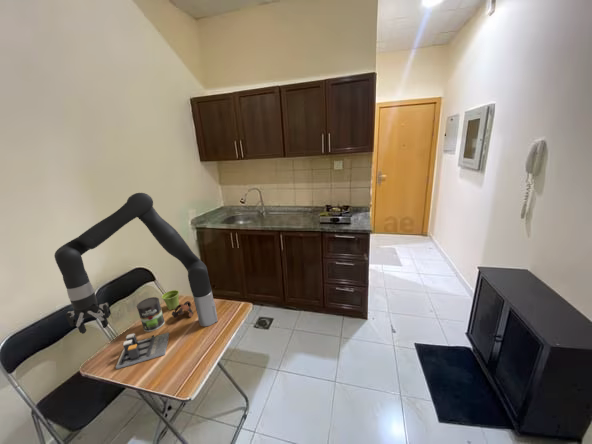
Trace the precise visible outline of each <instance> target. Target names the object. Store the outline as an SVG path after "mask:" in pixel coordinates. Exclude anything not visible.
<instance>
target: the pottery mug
mask: <svg viewBox="0 0 592 444" xmlns="http://www.w3.org/2000/svg"><path fill="white" fill-rule="evenodd" d="M184 311H186V312H187V311H188V312H189V313H188V317H189V318H192V317H193V315H194V311H193V310H192V304H191V302H190V301H189V300H188V301H187V300H186V301H184V303H183V304H182V303H179V305H178V306H177V307H176V308H175V309H173V311H172V312H171V316H172V317H173V319H179V318H180V315H184V314H185V312H184Z"/></svg>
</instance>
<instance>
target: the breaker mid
mask: <svg viewBox="0 0 592 444" xmlns="http://www.w3.org/2000/svg"><path fill="white" fill-rule="evenodd" d="M131 345H134V344H133V341H132V340H128V341H127V340H125V341H123V344H122V346H123V349H125V352H126V355H127V354H129V352H128V347H129V346H131Z"/></svg>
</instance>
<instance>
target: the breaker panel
mask: <svg viewBox="0 0 592 444" xmlns="http://www.w3.org/2000/svg"><path fill="white" fill-rule="evenodd" d="M169 338H170V333H169V332H166V333H162V334H159V335H156V336H155V335H152V336H151V337H147V338H144V339H141V340H137V342H138V343H137V346H138V349H139V353H140V355H139V357H138V358H135V359H132V360H131V358H130V355H129V354H127V355H126V352H125V349H124V348H122V349H123V350H122V351H121V354H120V356H119V358H118V360H117V363H116V365H115V369H116V370H120V369H123V368H126V367H129V366H132V365H136V364H139V363H143V362H145V361H148V360H149V361H150V360H152V359H156V358H159V357H162V356H165V355H166V352H167V347H168V344H169Z"/></svg>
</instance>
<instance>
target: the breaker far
mask: <svg viewBox="0 0 592 444" xmlns="http://www.w3.org/2000/svg"><path fill="white" fill-rule="evenodd" d="M125 339H126V340H125V341H128V340H132V341H133V344H134V345H135V344H137V343H138V342H137V341H138V340H137V337H136V333H129V334H127V335H126V337H125Z"/></svg>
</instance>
